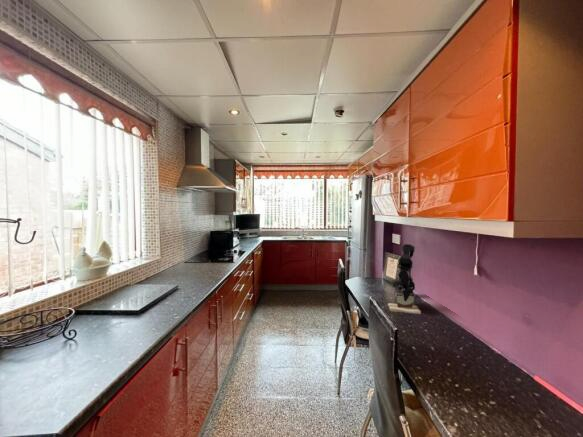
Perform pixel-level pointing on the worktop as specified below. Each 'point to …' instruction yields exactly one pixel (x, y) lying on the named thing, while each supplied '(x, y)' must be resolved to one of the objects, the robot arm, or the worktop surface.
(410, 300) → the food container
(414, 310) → the base board
